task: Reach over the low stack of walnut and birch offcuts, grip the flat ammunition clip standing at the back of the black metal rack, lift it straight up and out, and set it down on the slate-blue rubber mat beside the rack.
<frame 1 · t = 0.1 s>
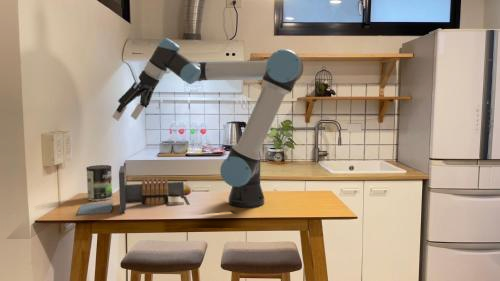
hand: (124, 118, 158), 36 cm above the table, tool tilted 35°, fingers open, 13 cm apart
offcut upper: (174, 201, 160), point 1 cm above the table, tilted 6°
coffee can: (100, 198, 172), on the table
fruit: (179, 196, 176), on the table
rack: (155, 206, 158), on the table
offcut lower: (174, 204, 160), on the table, tilted 6°, touching ammunition clip
mat: (95, 209, 154), on the table
ammunition clip: (155, 207, 158), on the table, touching offcut lower
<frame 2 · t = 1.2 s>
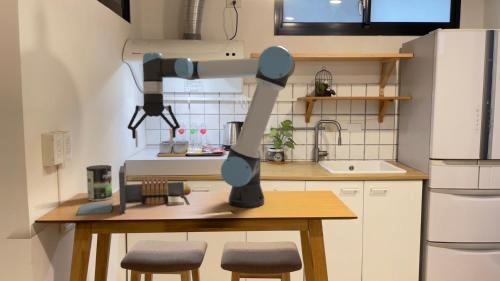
hand: (154, 146, 156), 25 cm above the table, tool pointing down, fingers open, 13 cm apart
offcut upper: (174, 201, 160), point 1 cm above the table, tilted 6°, touching offcut lower
offcut lower: (173, 204, 160), on the table, tilted 6°, touching ammunition clip, offcut upper
everything else where it was.
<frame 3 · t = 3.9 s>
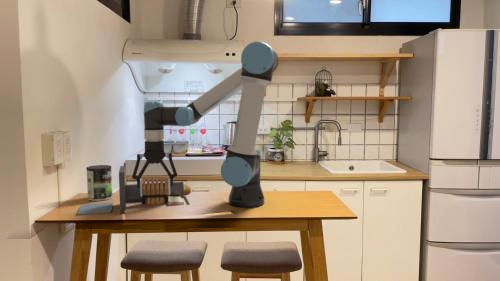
hand: (155, 194, 157), 5 cm above the table, tool pointing down, fingers closed on ammunition clip, 10 cm apart
ammunition clip: (155, 207, 158), on the table, touching gripper, offcut lower
everything else where it was.
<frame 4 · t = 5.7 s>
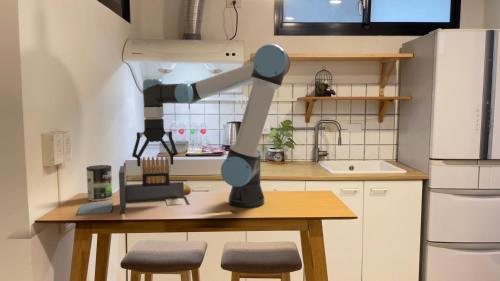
hand: (155, 173, 156), 14 cm above the table, tool pointing down, fingers closed on ammunition clip, 10 cm apart
offcut upper: (173, 204, 160), resting on offcut lower
offcut lower: (170, 207, 159), on the table
ammunition clip: (156, 186, 157), point 8 cm above the table, touching gripper
everything else where it was.
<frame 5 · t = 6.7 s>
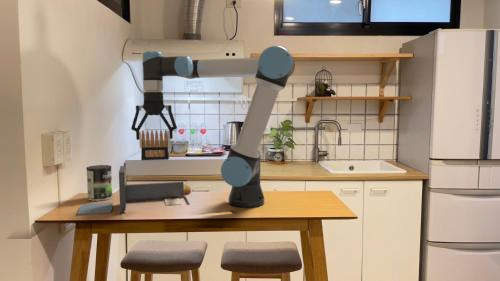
hand: (154, 147, 156), 24 cm above the table, tool pointing down, fingers closed on ammunition clip, 10 cm apart
offcut upper: (172, 204, 160), resting on offcut lower
offcut lower: (170, 207, 159), on the table, touching offcut upper
ammunition clip: (155, 160, 156), point 19 cm above the table, touching gripper
everything else where it was.
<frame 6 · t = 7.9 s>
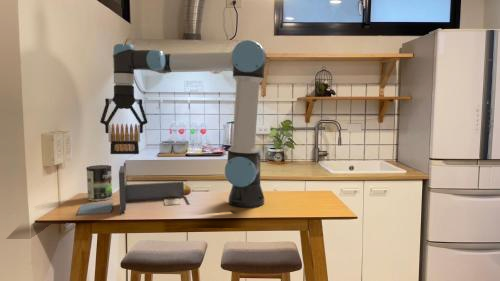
hand: (124, 141, 154), 27 cm above the table, tool pointing down, fingers closed on ammunition clip, 10 cm apart
ammunition clip: (124, 154, 154), point 22 cm above the table, touching gripper
everything else where it was.
when the fingers open (7 cm above the table, at t = 11.3 s): ammunition clip drops 1 cm, resting on mat.
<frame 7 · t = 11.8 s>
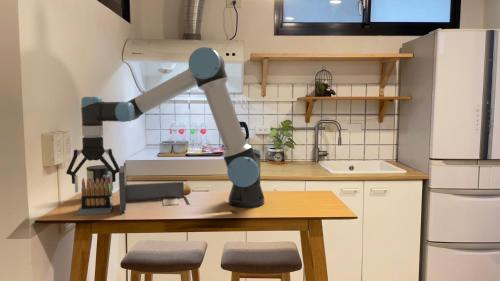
hand: (94, 191, 153), 7 cm above the table, tool pointing down, fingers open, 12 cm apart
offcut upper: (170, 204, 159), resting on offcut lower
offcut lower: (170, 207, 159), on the table
ammunition clip: (96, 208, 154), resting on mat
everything else where it was.
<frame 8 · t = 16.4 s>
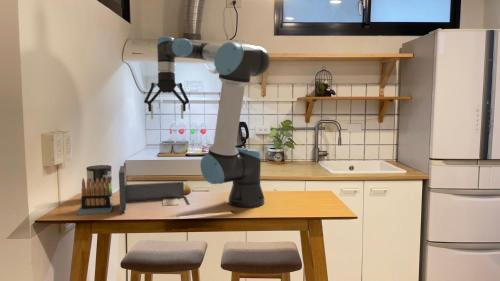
hand: (167, 118, 179), 35 cm above the table, tool pointing down, fingers open, 13 cm apart
offcut upper: (170, 204, 159), resting on offcut lower
offcut lower: (170, 207, 159), on the table, touching offcut upper
everything else where it was.
at the end: ammunition clip inside the target area (0.1 cm from its centre), resting on mat; the gripper is holding nothing; offcut upper moved 1.7 cm from its start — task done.
